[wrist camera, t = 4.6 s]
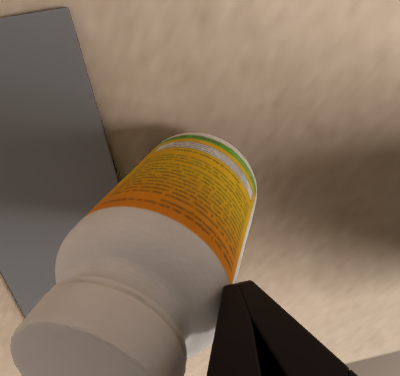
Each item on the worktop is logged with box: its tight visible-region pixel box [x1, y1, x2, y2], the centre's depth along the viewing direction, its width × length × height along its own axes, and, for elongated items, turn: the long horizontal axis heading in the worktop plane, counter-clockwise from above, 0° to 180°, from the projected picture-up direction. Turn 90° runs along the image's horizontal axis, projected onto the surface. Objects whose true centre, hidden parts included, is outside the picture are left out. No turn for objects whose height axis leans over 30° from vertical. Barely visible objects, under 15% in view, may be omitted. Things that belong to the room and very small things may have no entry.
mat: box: [0, 7, 119, 318], centre depth 16 cm, size 7×16×1 cm, turn 9°
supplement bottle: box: [10, 132, 257, 376], centre depth 12 cm, size 5×5×10 cm
